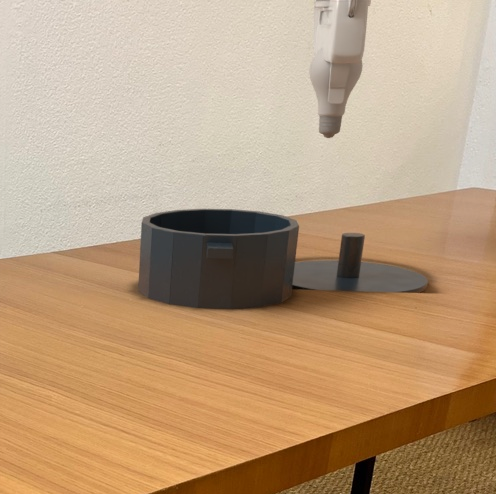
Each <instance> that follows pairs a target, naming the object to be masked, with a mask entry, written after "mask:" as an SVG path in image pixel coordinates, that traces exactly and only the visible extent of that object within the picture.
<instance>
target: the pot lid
mask: <svg viewBox="0 0 496 494" xmlns="http://www.w3.org/2000/svg"><path fill="white" fill-rule="evenodd" d="M365 238H366V235H365V234H363V233H360V232H344V233H342V234H341V238H340V247H339V252H338V260H337V259H336V260H335V259H334V260H333V259H332V260H331V259H329V260H323V259H322V260H306V261H305V260H304V261H295V267H294V276H293V284H292V290H304V291H305V290H306V291H308V290H309V291H335V292H338V291H339V292H367V293H370V292H371V293H403V294H419V293H422V292H424V291H425V290H426V289H427V288H428V281H429V280H428V278H427V277H426V276H424V275H423V274H421V273H419V272H418V271H417V272H416V271H414V270H412V269H408V268H403V267H400V266H395V265H390V264H383V263H378V262H369V261H368V262H367V261H362V260H363V253H364V252H363V251H364V244H365Z"/></svg>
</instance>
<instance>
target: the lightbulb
mask: <svg viewBox="0 0 496 494" xmlns="http://www.w3.org/2000/svg"><path fill="white" fill-rule="evenodd" d="M330 64H331V63H330V62H327V61H325V60H324V57H323V48H320V49H319V50H318V51H317V52H316V54H315V55H313V57H312V59H311V61H310V64H309V68H308V74H309V79H310V82H311V85H312V88H313V91H314V92H315V95H316V99H317V115H318V117H319V118H318V119H319V120H318V133H319V134H321V135H323V137H324V138H326V139H331V138H334V137H335V135H337V134H339V133H340V132H341V127H342V120H343V116H344V115H345V113H346V108H347V107H346V106H347V104H348V100H349V98H350V95H351V93H352V91H353V90H354V88H355V86H356V85H357V83H358V82H359V80H360V78H361V75H362V72H363V59H362V60H361V62H359V63H350V71H349V76H348V80H347V83H346V87H345V94H344V101H343V102H342V103H341V104H330V103H329V102H328V101H327V96H328V87H329V80H330Z"/></svg>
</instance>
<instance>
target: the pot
mask: <svg viewBox="0 0 496 494" xmlns="http://www.w3.org/2000/svg"><path fill="white" fill-rule="evenodd" d="M299 230H300V225H299V222H298V220H297V219H294V218H292V217H289V216H285V215H282V214H277V213H271V212H266V211H258V210H247V209H236V208H235V209H234V208H190V209H189V208H187V209H173V210H167V211H160V212H155V213H151V214H149V215H147V216H143V217H142V220H141V228H140V245H139V247H140V249H139V266H138V267H139V268H138V284H137V285H138V286H137V287H138V288H137V292H138V293H140V294H141V295H142V296H144V297H145V298H147V299H149V300H153V301H156V302H160V303H163V304H167V305H172V306H178V307H179V306H180V307H186V308H194V309H206V310H207V309H208V310H210V309H211V310H241V309H256V308H258V309H259V308H263V307H268V306H273V305H278V304H282V303H283V302H285V301H286V300H288V299H290V298H291V297H292V291H293V289H292V284H293V276H294V267H295V262H296V257H297V248H298V240H299Z"/></svg>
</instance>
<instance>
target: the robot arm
mask: <svg viewBox="0 0 496 494" xmlns="http://www.w3.org/2000/svg"><path fill="white" fill-rule="evenodd" d="M371 2H372V0H313V26H312V27H313V35H312V36H313V53H314V55H315V54H316V52H317V51H318V50H319V49H320V48H323V57H324V60H325V61H327V62H330V63H331V64H330V80H329V87H328V96H327V101H328V102H329V103H330V104H341V103H342V102H343V101H344V94H345V87H346V83H347V80H348V76H349V71H350V63H359V62H361V60H362V61H363V58H364V53H365V47H366V35H367V26H368V13H369V7H370V6H371ZM314 55H313V56H314Z"/></svg>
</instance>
